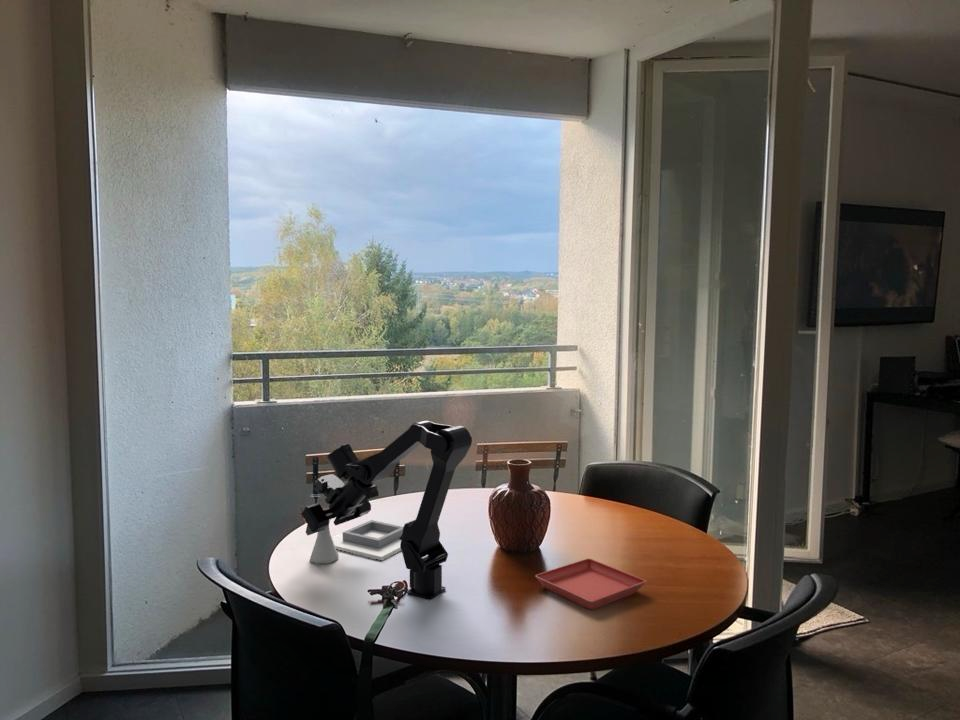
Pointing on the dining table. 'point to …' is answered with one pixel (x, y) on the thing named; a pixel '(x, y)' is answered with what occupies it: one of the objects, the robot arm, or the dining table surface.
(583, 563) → the plant saucer
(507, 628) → the dining table surface
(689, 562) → the dining table surface
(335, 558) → the flask
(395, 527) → the collar board
